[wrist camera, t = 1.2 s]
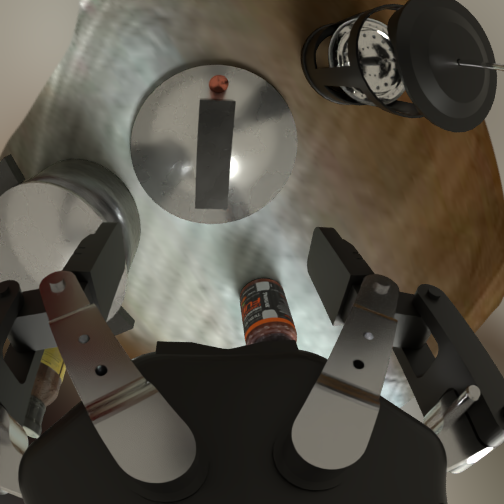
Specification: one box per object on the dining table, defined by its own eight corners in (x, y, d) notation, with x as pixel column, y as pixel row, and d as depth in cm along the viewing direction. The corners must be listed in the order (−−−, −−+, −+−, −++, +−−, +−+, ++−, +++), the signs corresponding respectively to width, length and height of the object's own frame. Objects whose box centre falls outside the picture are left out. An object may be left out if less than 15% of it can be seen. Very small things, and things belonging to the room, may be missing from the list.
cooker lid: (135, 66, 23) (120, 63, 19) (303, 75, 26) (320, 73, 22) (136, 218, 32) (126, 240, 28) (283, 221, 35) (293, 243, 30)
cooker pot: (-5, 188, 26) (-46, 220, 18) (82, 106, 24) (38, 118, 16) (88, 310, 38) (70, 358, 30) (182, 264, 36) (176, 316, 28)
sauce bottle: (40, 302, 36) (-9, 410, 19) (73, 303, 37) (29, 422, 20) (54, 331, 39) (18, 435, 22) (85, 334, 40) (55, 446, 23)
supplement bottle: (248, 271, 37) (262, 338, 28) (290, 282, 39) (314, 346, 30) (232, 305, 40) (240, 373, 31) (271, 314, 42) (288, 378, 32)
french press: (319, 120, 29) (492, 208, 9) (279, 42, 24) (432, -27, 4) (403, 84, 27) (581, 133, 7) (371, 11, 22) (550, -14, 2)
